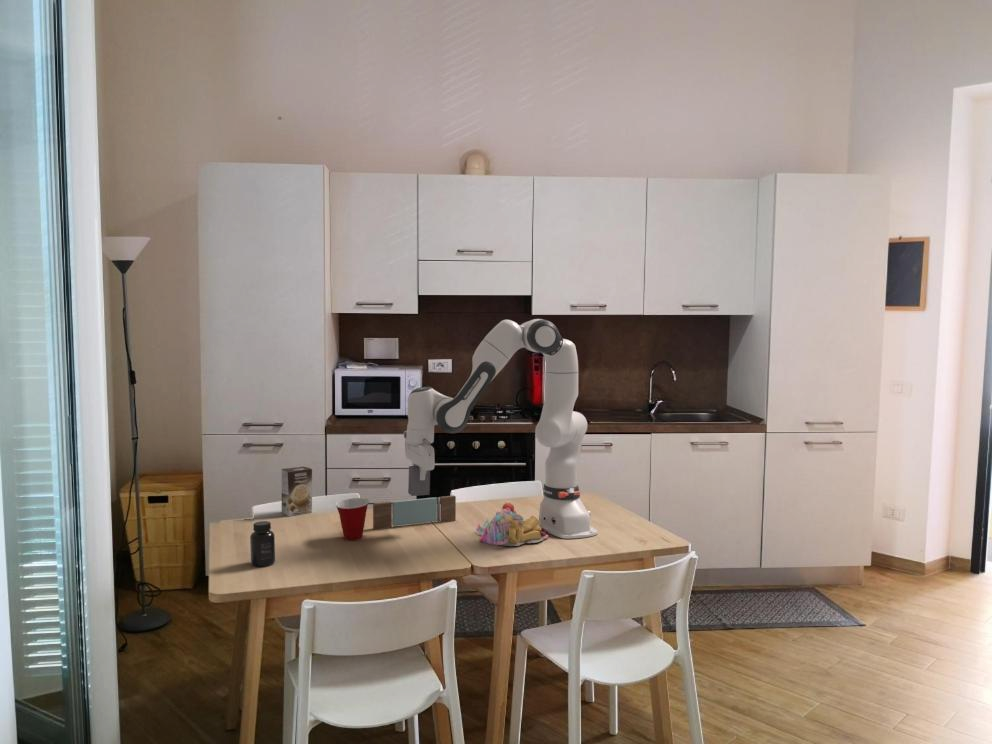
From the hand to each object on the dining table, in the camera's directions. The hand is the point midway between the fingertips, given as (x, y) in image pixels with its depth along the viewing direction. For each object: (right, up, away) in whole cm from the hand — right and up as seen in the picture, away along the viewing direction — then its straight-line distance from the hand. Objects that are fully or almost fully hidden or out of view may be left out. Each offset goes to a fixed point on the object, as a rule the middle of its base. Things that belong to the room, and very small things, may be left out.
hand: (419, 477), depth 265 cm
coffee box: (-46, -16, +24) cm, 54 cm away
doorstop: (0, -5, +1) cm, 5 cm away
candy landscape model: (+30, -19, -1) cm, 36 cm away
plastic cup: (-21, -19, -5) cm, 29 cm away
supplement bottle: (-42, -21, -31) cm, 57 cm away
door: (-2, -17, +11) cm, 20 cm away
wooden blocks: (-2, -17, +11) cm, 20 cm away
